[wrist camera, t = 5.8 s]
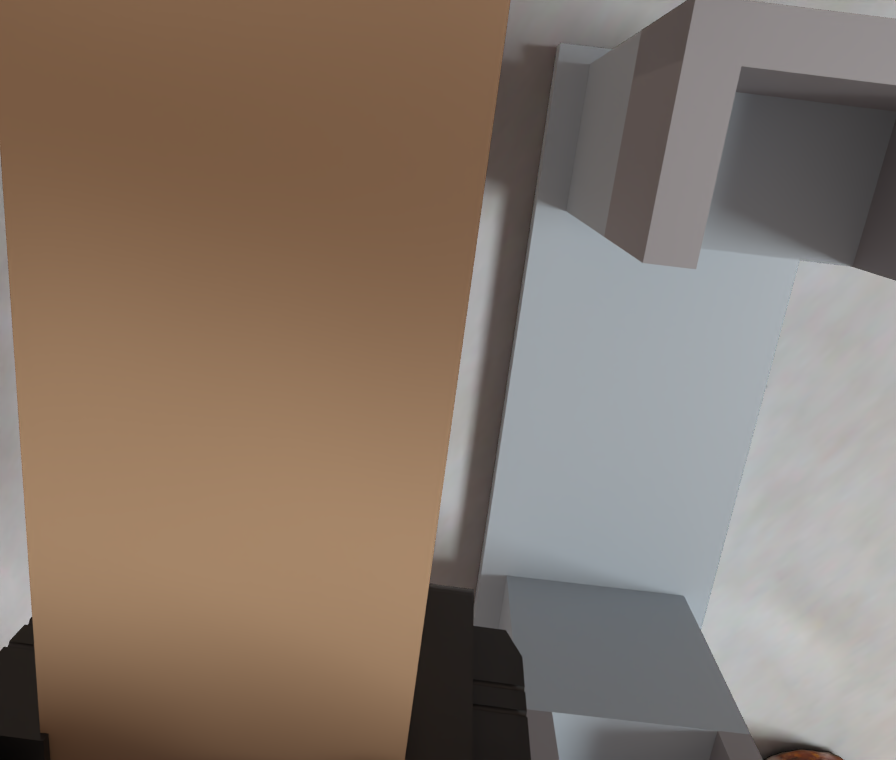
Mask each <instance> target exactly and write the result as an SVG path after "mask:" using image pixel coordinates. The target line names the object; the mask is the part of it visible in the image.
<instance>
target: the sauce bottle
mask: <svg viewBox="0 0 896 760" xmlns="http://www.w3.org/2000/svg"><path fill="white" fill-rule="evenodd" d="M766 760H843V759H842V758H841V757H839V756H837V755H834V754H831V753H830V752H817V751H811V750H795V751H790V752H783V753H780V754H777V755H773V756H770V757H769V758H768V759H766Z"/></svg>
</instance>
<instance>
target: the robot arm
mask: <svg viewBox="0 0 896 760" xmlns="http://www.w3.org/2000/svg"><path fill="white" fill-rule="evenodd" d="M473 622H474V591H473V589H465V588H457V587H450V586H442V585H435V584H429V589H428V596H427V603H426V611H425V618H424V625H423V632H422V639H421V647H420V654H419V661H418V668H417V675H416V683H415V690H414V697H413V704H412V711H411V718H410V726H409V733H408V740H407V747H406V754H405V760H531V753H530V741H529V729H528V717H526V714H527V706H526V694H525V692H524V688H525V682H524V670H523V658H522V655H521V654H520V652H519V650H518V649H517V647H516V646H515V644H514V642H513V641H512V639H511V638H510V636H509V634H508V633H507V631H506V630H502V629H494V628H487V627H479V626H473ZM0 760H50V747H49V734H47V733H40V722H39V708H38V693H37V678H36V664H35V649H34V635H33V620H32V617H31V619H30V621H29V624H28V625H24V626H23V627H22V628H21V629H20V630H19V631H18V632H17V634H16V635H15V636H14V637H13V638H12V639H11V640H10V641H9V645H8V647H3V649H2V650H1V651H0Z"/></svg>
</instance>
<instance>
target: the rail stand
mask: <svg viewBox="0 0 896 760" xmlns="http://www.w3.org/2000/svg"><path fill="white" fill-rule="evenodd" d="M799 261H809V262H817V263H825V264H834V265H842V266H850V267H855V268H858V269H861V270H864V271H868V272H871V273H874V274H877V275H880V276H883V277H886V278H890V279H893V280H896V19H894V18H886V17H877V16H869V15H861V14H853V13H845V12H837V11H829V10H821V9H813V8H805V7H797V6H789V5H781V4H773V3H765V2H757V1H749V0H687V1H685V2H684V3H682V4H681V5H679V6H678V7H676V8H675V9H673V10H672V11H670V12H668V13H667V14H665V15H664V16H662V17H661V18H659V19H658V20H656V21H655V22H653V23H652V24H650V25H649V26H647V27H646V28H644V29H643V30H641V31H640V32H638V33H637V34H635V35H634V36H632V37H630V38H629V39H627V40H626V41H624V42H623V43H621V44H620V45H618V46H617V47H615V48H614V49H608V48H599V47H591V46H583V45H575V44H567V43H560V44H559V45H558V46H557V50H556V56H555V63H554V70H553V77H552V83H551V90H550V97H549V104H548V110H547V117H546V124H545V131H544V137H543V144H542V151H541V157H540V164H539V171H538V178H537V184H536V191H535V198H534V205H533V211H532V218H531V225H530V232H529V238H528V245H527V252H526V258H525V265H524V272H523V279H522V285H521V292H520V299H519V306H518V312H517V319H516V326H515V333H514V339H513V346H512V353H511V359H510V366H509V373H508V380H507V386H506V393H505V400H504V407H503V413H502V420H501V427H500V434H499V440H498V447H497V454H496V460H495V467H494V474H493V481H492V487H491V494H490V501H489V508H488V514H487V521H486V528H485V535H484V541H483V548H482V555H481V562H480V568H479V575H478V582H477V588H476V595H475V602H474V622H473V626H479V627H487V628H494V629H502V630H506V631H507V633H508V634H509V636H510V638H511V639H512V641H513V642H514V644H515V646H516V647H517V649H518V650H519V652H520V654H521V655H522V658H523V670H524V682H525V688H524V692H525V694H526V706H527V714H526V717H528V729H529V741H530V753H531V760H763V759H762V757H761V755H760V753H759V751H758V749H757V747H756V744H755V742H754V740H753V738H752V736H751V734H750V732H749V730H748V728H747V726H746V724H745V722H744V719H743V717H742V715H741V713H740V711H739V709H738V707H737V705H736V703H735V701H734V699H733V697H732V694H731V692H730V690H729V688H728V686H727V684H726V682H725V680H724V678H723V676H722V674H721V672H720V669H719V667H718V665H717V663H716V661H715V659H714V657H713V655H712V653H711V651H710V649H709V647H708V644H707V642H706V640H705V638H704V636H703V634H702V632H701V628H702V624H703V621H704V617H705V613H706V609H707V606H708V602H709V598H710V594H711V591H712V587H713V583H714V579H715V576H716V572H717V568H718V564H719V561H720V557H721V553H722V550H723V546H724V542H725V538H726V535H727V531H728V527H729V523H730V520H731V516H732V512H733V508H734V505H735V501H736V497H737V493H738V490H739V486H740V482H741V478H742V475H743V471H744V467H745V463H746V460H747V456H748V452H749V448H750V445H751V441H752V437H753V433H754V430H755V426H756V422H757V418H758V415H759V411H760V407H761V404H762V400H763V396H764V392H765V389H766V385H767V381H768V377H769V374H770V370H771V366H772V362H773V359H774V355H775V351H776V347H777V344H778V340H779V336H780V332H781V329H782V325H783V321H784V317H785V314H786V310H787V306H788V302H789V299H790V295H791V291H792V287H793V284H794V280H795V276H796V273H797V269H798V265H799Z"/></svg>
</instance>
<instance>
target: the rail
mask: <svg viewBox="0 0 896 760" xmlns="http://www.w3.org/2000/svg"><path fill="white" fill-rule="evenodd" d="M509 7H510V0H0V152H1V167H2V182H3V196H4V211H5V225H6V240H7V255H8V269H9V284H10V299H11V313H12V328H13V342H14V357H15V372H16V386H17V401H18V415H19V430H20V445H21V459H22V474H23V488H24V503H25V518H26V532H27V547H28V561H29V576H30V591H31V605H32V620H33V635H34V649H35V664H36V678H37V693H38V708H39V722H40V733H47V734H49V747H50V760H405V754H406V747H407V740H408V733H409V726H410V718H411V711H412V704H413V697H414V690H415V683H416V675H417V668H418V661H419V654H420V647H421V639H422V632H423V625H424V618H425V611H426V603H427V596H428V589H429V582H430V575H431V567H432V560H433V553H434V546H435V539H436V532H437V524H438V517H439V510H440V503H441V496H442V488H443V481H444V474H445V467H446V460H447V452H448V445H449V438H450V431H451V424H452V417H453V409H454V402H455V395H456V388H457V381H458V373H459V366H460V359H461V352H462V345H463V337H464V330H465V323H466V316H467V309H468V302H469V294H470V287H471V280H472V273H473V266H474V258H475V251H476V244H477V237H478V230H479V222H480V215H481V208H482V201H483V194H484V186H485V179H486V172H487V165H488V158H489V151H490V143H491V136H492V129H493V122H494V115H495V107H496V100H497V93H498V86H499V79H500V71H501V64H502V57H503V50H504V43H505V36H506V28H507V21H508V14H509Z"/></svg>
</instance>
